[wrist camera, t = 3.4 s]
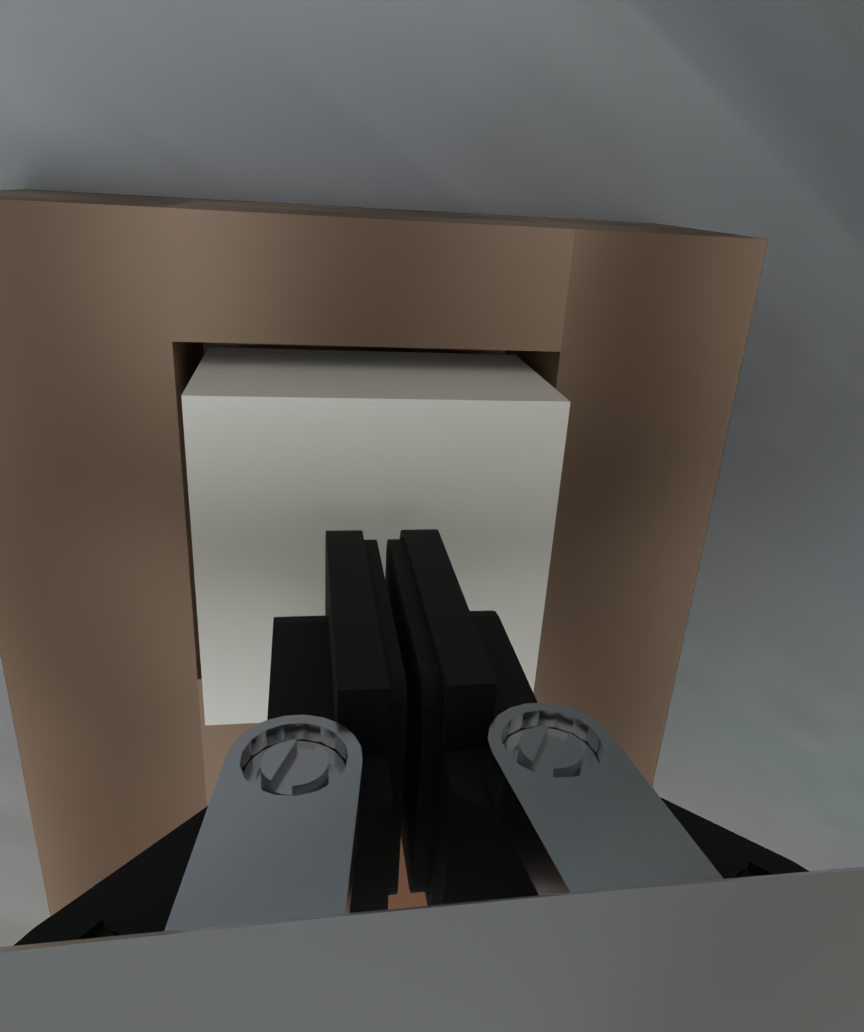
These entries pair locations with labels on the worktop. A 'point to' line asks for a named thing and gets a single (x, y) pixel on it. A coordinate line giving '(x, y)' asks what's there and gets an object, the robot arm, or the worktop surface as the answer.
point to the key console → (324, 326)
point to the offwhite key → (361, 489)
